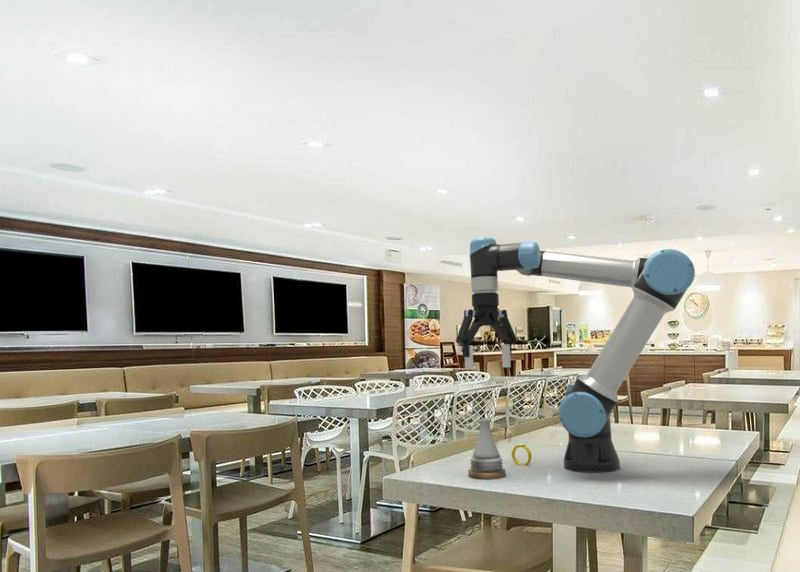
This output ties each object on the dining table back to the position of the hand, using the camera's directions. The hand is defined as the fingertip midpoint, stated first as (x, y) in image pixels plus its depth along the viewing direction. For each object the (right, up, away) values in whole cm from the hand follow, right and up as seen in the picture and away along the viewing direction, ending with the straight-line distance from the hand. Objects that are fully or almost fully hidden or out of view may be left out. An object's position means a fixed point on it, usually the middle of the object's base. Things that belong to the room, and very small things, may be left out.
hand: (488, 368), depth 181 cm
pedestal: (-1, -28, -6) cm, 29 cm away
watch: (+11, -30, +9) cm, 33 cm away
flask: (-1, -24, -6) cm, 24 cm away
